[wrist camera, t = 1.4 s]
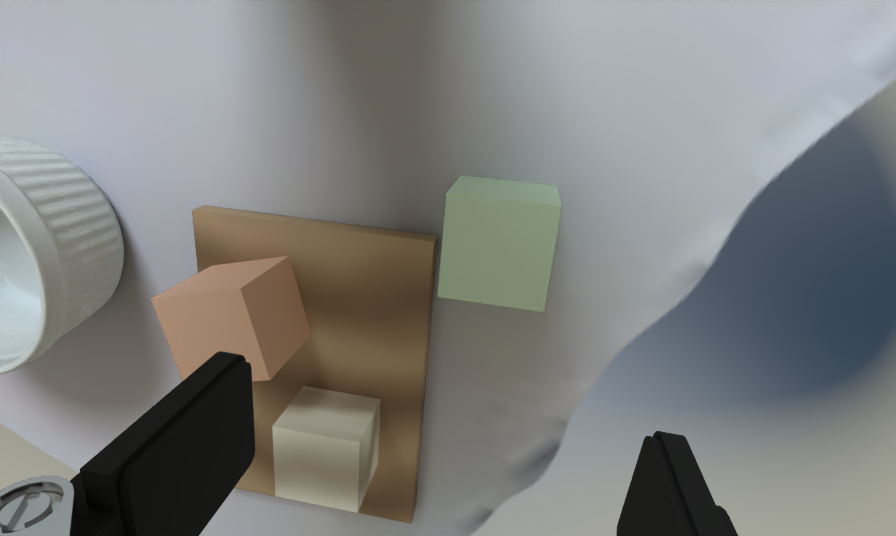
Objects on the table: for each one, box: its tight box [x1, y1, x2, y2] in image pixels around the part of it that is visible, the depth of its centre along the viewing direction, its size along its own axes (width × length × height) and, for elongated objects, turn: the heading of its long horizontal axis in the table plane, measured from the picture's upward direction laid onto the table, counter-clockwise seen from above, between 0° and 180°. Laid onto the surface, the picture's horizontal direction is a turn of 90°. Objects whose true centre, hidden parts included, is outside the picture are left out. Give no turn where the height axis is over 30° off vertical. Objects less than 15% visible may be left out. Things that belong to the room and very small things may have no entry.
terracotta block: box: [151, 256, 311, 381], centre depth 27 cm, size 5×5×5 cm
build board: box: [192, 206, 438, 523], centre depth 29 cm, size 20×14×5 cm
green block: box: [437, 175, 562, 312], centre depth 24 cm, size 5×5×5 cm
